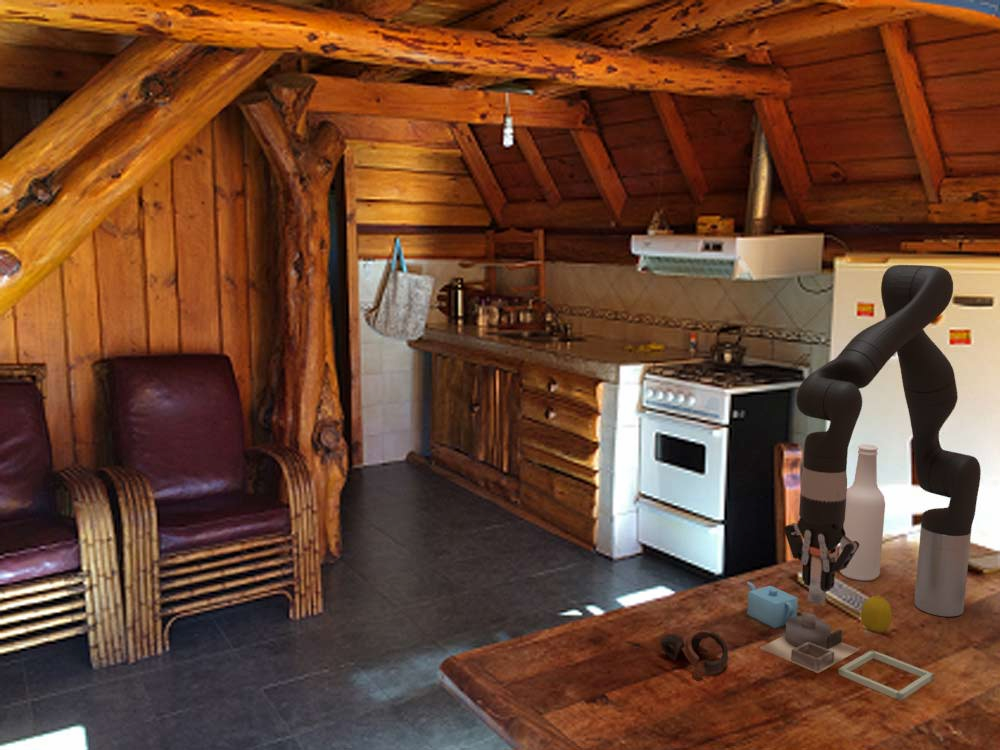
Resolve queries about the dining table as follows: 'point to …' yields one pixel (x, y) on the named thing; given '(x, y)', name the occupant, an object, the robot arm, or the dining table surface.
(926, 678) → the tray
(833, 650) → the pulley board
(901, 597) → the dining table surface
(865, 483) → the alcohol
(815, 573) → the pin
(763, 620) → the teapot
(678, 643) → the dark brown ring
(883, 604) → the lemon
